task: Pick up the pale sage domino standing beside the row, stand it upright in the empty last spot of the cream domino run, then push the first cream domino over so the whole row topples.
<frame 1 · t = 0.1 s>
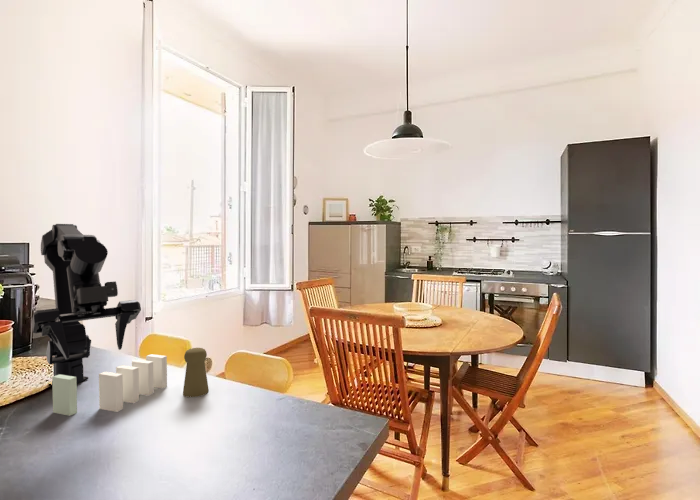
hand: (95, 353, 80), 15 cm above the counter, tool tilted 30°, fingers open, 9 cm apart
domino 3: (127, 400, 92), on the counter
sage domino: (65, 412, 86), on the counter
cork: (195, 393, 97), on the counter
domino 2: (143, 393, 96), on the counter
domino 1: (156, 386, 101), on the counter
domino 4: (111, 408, 88), on the counter
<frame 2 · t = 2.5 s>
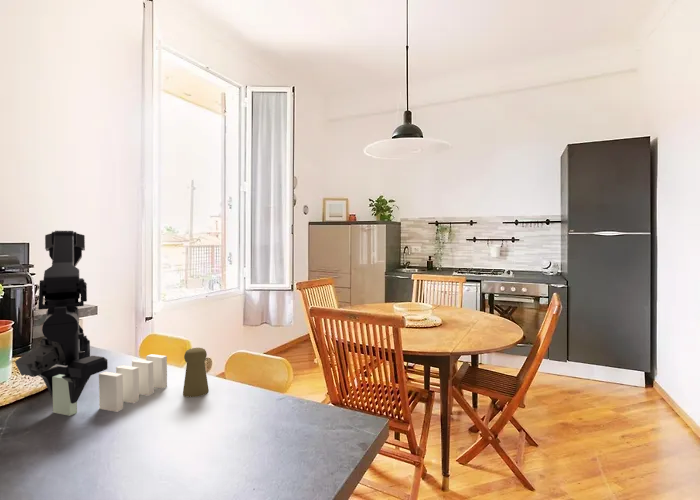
hand: (64, 401, 86), 3 cm above the counter, tool pointing down, fingers closed on sage domino, 5 cm apart
sage domino: (65, 412, 86), on the counter, touching gripper
everything else where it was.
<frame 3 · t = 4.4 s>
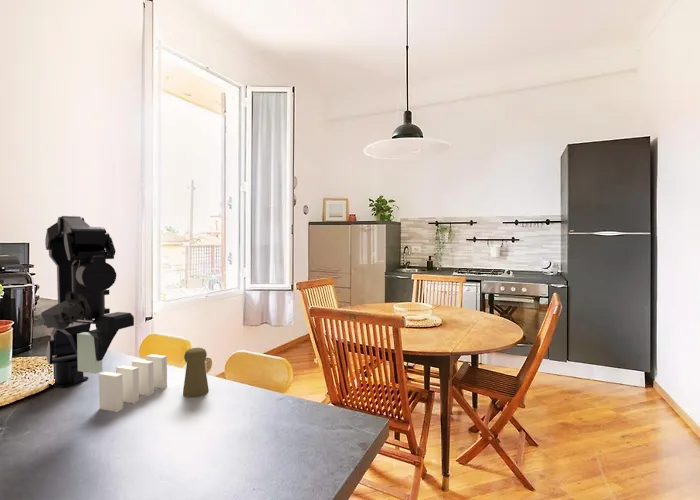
hand: (90, 359, 83), 13 cm above the counter, tool pointing down, fingers closed on sage domino, 5 cm apart
sage domino: (90, 371, 83), point 10 cm above the counter, touching gripper
everything else where it was.
when the fingers open (3 cm above the counter, at t = 6.5 s): sage domino stays where it is, on the counter.
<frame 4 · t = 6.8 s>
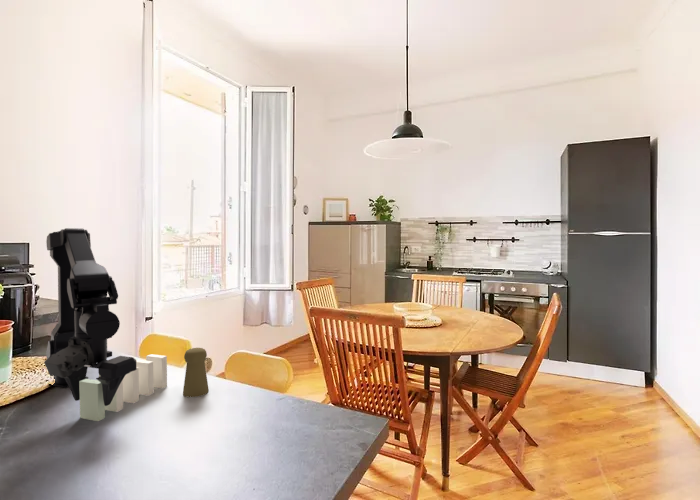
hand: (92, 402, 83), 3 cm above the counter, tool pointing down, fingers open, 8 cm apart
sage domino: (92, 417, 83), on the counter
everything else where it was.
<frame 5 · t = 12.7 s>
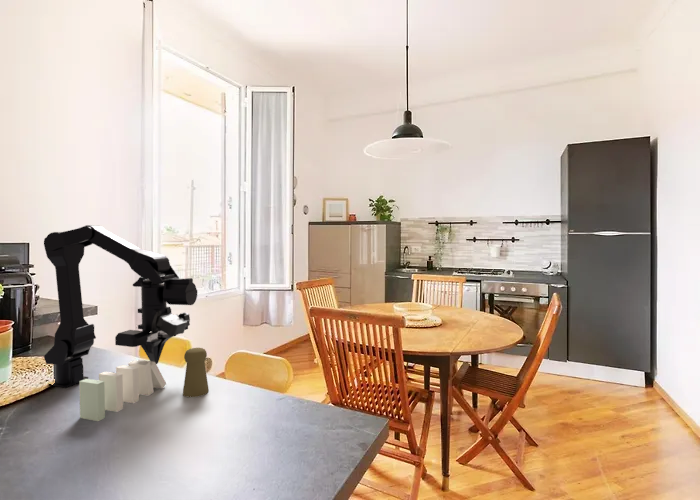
hand: (154, 364, 100), 6 cm above the counter, tool pointing down, fingers closed
domino 2: (142, 392, 96), on the counter, tilted 8°
domino 1: (156, 385, 100), on the counter, tilted 28°
everything else where it was.
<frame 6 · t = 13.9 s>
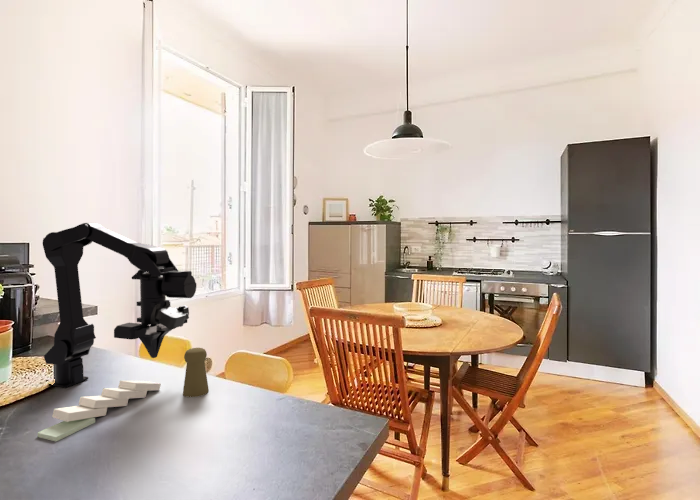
hand: (154, 357, 99), 8 cm above the counter, tool pointing down, fingers closed
domino 3: (120, 400, 90), point 1 cm above the counter, tilted 71°, touching domino 2, domino 4
sage domino: (86, 420, 82), on the counter, tilted 90°
domino 2: (138, 392, 95), point 1 cm above the counter, tilted 70°, touching domino 1, domino 3
domino 1: (152, 385, 99), point 1 cm above the counter, tilted 69°, touching domino 2
domino 4: (99, 409, 85), point 1 cm above the counter, tilted 75°, touching domino 3
everything else where it was.
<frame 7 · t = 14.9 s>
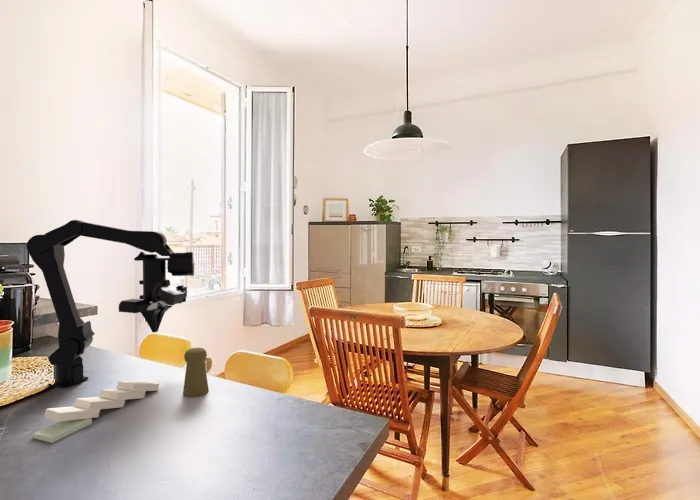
hand: (155, 332, 109), 12 cm above the counter, tool pointing down, fingers closed
domino 3: (117, 401, 89), point 1 cm above the counter, tilted 72°, touching domino 4
domino 2: (136, 393, 94), point 1 cm above the counter, tilted 71°, touching domino 1
domino 4: (92, 411, 84), point 1 cm above the counter, tilted 73°, touching domino 3
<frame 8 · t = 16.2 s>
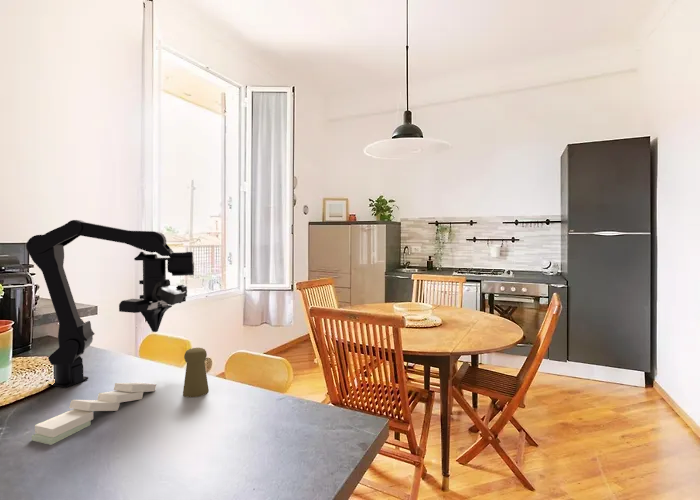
hand: (155, 331, 109), 12 cm above the counter, tool pointing down, fingers closed
domino 3: (109, 405, 88), point 1 cm above the counter, tilted 66°, touching domino 2, domino 4
sage domino: (81, 422, 81), on the counter, tilted 90°, touching domino 4
domino 2: (133, 394, 94), point 1 cm above the counter, tilted 73°, touching domino 3
domino 1: (147, 386, 98), point 1 cm above the counter, tilted 70°
domino 4: (84, 413, 82), point 2 cm above the counter, tilted 90°, touching domino 3, sage domino
everything else where it was.
at the end: sage domino tilted 90°; sage domino inside the target area (1.9 cm from its centre), on the counter; the gripper is holding nothing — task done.
